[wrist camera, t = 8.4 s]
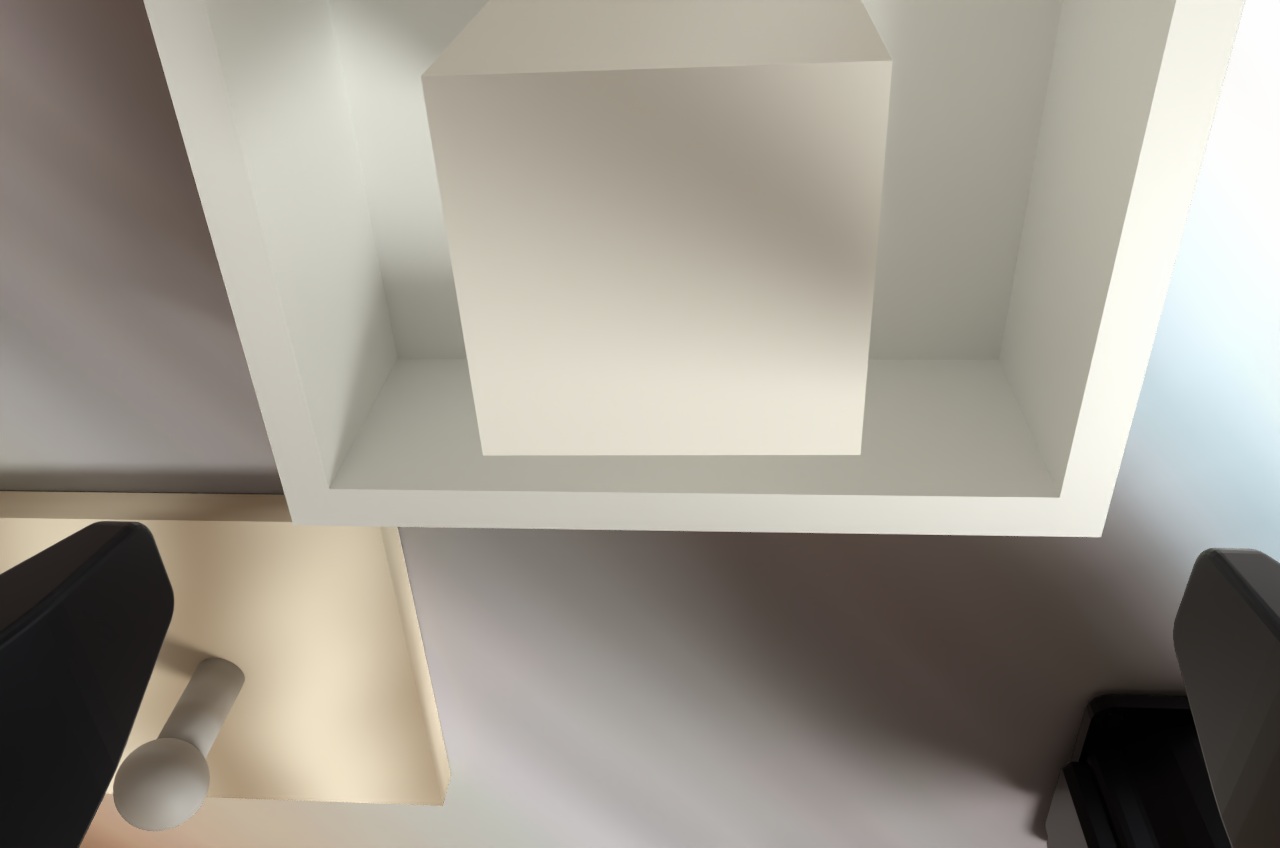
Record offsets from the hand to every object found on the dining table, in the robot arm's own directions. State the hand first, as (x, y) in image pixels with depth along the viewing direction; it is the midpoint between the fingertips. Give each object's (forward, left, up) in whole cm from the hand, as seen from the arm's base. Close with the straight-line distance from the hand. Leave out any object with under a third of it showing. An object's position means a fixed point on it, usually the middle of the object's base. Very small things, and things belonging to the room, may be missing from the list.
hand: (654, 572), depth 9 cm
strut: (0, -2, -11) cm, 11 cm away
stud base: (+12, +13, -12) cm, 22 cm away
